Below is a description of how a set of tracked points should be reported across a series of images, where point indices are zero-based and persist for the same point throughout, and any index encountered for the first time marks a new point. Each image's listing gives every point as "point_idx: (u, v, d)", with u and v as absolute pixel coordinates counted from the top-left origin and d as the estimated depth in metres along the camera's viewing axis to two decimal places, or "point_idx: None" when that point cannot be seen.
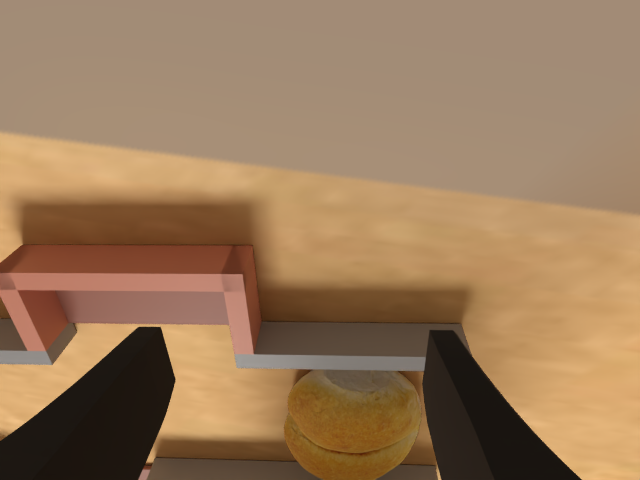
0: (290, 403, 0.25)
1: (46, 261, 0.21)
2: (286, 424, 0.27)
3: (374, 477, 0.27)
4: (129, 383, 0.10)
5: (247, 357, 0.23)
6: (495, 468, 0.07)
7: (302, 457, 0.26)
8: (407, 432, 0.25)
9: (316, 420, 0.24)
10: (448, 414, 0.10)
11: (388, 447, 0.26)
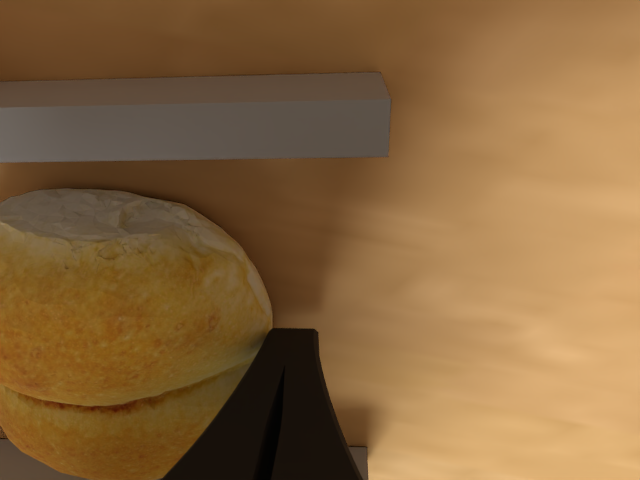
0: None
1: None
2: None
3: (172, 465, 0.12)
4: (283, 385, 0.10)
5: None
6: (279, 462, 0.07)
7: (0, 422, 0.12)
8: (213, 351, 0.10)
9: None
10: None
11: (186, 393, 0.11)
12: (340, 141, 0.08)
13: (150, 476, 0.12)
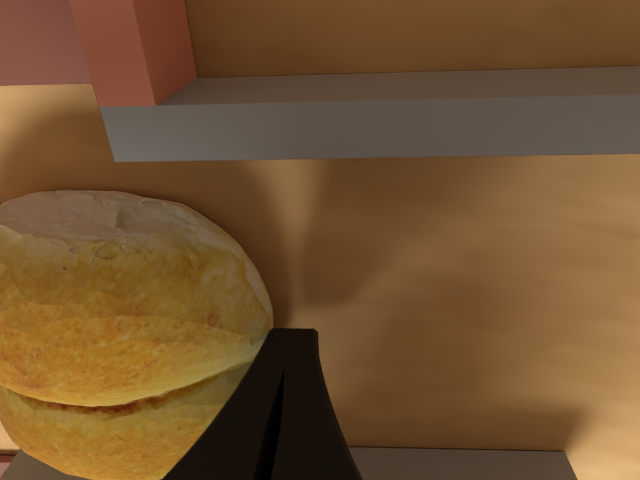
0: None
1: None
2: None
3: None
4: (284, 385, 0.10)
5: (137, 118, 0.08)
6: (279, 462, 0.07)
7: (3, 424, 0.12)
8: (213, 349, 0.10)
9: None
10: None
11: (187, 393, 0.11)
12: None
13: (154, 476, 0.12)
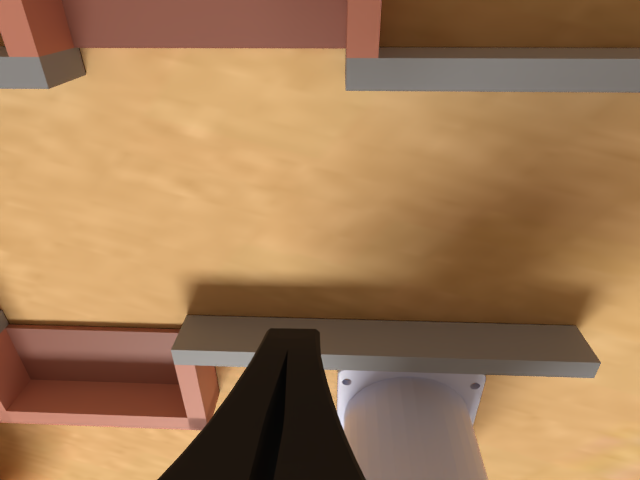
0: None
1: None
2: None
3: None
4: (281, 385, 0.10)
5: (366, 65, 0.14)
6: (282, 462, 0.07)
7: None
8: None
9: None
10: None
11: None
12: None
13: None
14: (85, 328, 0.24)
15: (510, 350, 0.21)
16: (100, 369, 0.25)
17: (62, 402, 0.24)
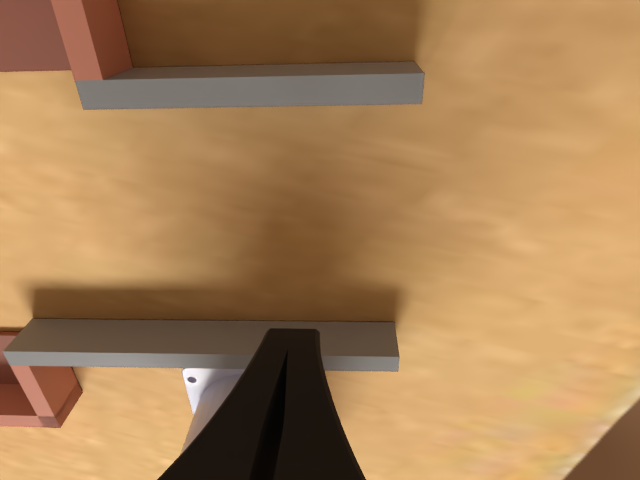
0: None
1: None
2: None
3: None
4: (281, 385, 0.10)
5: (94, 86, 0.15)
6: (282, 462, 0.07)
7: None
8: None
9: None
10: None
11: None
12: (397, 95, 0.15)
13: None
14: None
15: None
16: None
17: None
